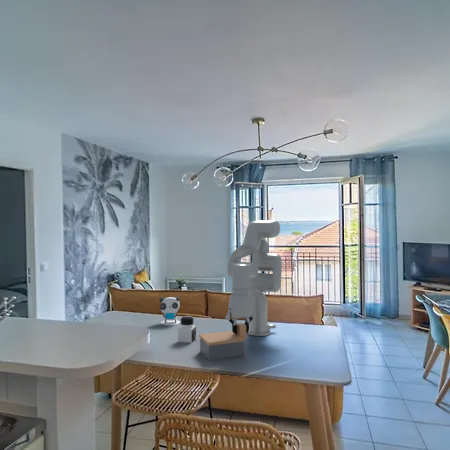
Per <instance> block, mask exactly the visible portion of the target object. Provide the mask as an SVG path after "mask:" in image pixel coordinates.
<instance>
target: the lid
mask: <svg viewBox="0 0 450 450" xmlns="http://www.w3.org/2000/svg"><path fill="white" fill-rule="evenodd" d="M236 325H237V334H234V333H233V332H232V330H227V331H226V330H225V331H218V332H209V333H200V334H199V335H198V337H199V339H200V338H201V339H202V340H203V341H204V342H205V343H206V344H207V345H208V346H211V345H219V344H226V343H234V342H242V341H244V342H245V341H246V339H247V336H248V334H247V333H246V325H245V324H244V323H243V322H241V321H240V322H236Z"/></svg>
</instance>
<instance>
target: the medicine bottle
mask: <svg viewBox="0 0 450 450" xmlns="http://www.w3.org/2000/svg"><path fill="white" fill-rule="evenodd" d="M196 340H197V325H194V317H193V316H190V315H186V316H182V317H181V318H180V326H179V327H178V328H177V343H190V344H192V343H193V342H194V341H196Z"/></svg>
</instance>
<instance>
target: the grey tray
mask: <svg viewBox="0 0 450 450" xmlns="http://www.w3.org/2000/svg"><path fill="white" fill-rule="evenodd" d="M199 352H200V354H202V355H203V356H204V357H205V358H206V359H207V361H208V362H211V361H217V360H222V359H223V360H224V359H231V358H237V357H238V358H239V357H244V356H245V341H242V342H234V343H226V344H219V345H211V346H208V345H207V344H206V343H205V342H204V341H203V340H202V339H201V338H200V337H199Z"/></svg>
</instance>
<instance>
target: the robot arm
mask: <svg viewBox="0 0 450 450" xmlns="http://www.w3.org/2000/svg"><path fill="white" fill-rule="evenodd" d="M280 231H281V225H280V222H279V221H278V220H252V221H250V222H249V223H248V224H247V227H246V231H245V234H244V239H243V242H242V244H241V245H239V246H238V247H237V248H236V249H234V250H233V251H232V252H231V254H230V257H229V260H228V263H227V269H226V271H227V275H228V276H229V278H231V284H232V285H231V288H232V289H231V290H232V291H231V294H230V296H229V301H228V308H227V309H228V310H227V311H228V312H227V314H226V315H225V316H224V319H226V320H227V321H228V322H229V323H230V324H231V329H232V330H231V331H232V332H233V333H234V334H237V325H236V323H238V322H237V321H238V319H243V318H244V323H243V324H245V325H246V335H250V336H253V337H265V336H269V335H270V334H271V329H276V328H277V326H276V324H271V323H270V324H269V323H268V299H267V296H266V294H265V292H267V293H268V292H269V293H277V292H279V291H280V290H281V285H282V271H283V269H282V268H283V262H282V257H281V255H280V254H277V253H270V251H269V250H270V245H269V242H268V241H267V240H266V239H271V238H272V239H273V238H276V237H278V236H279V234H280ZM250 255H252V260H251V261H252V262H251V261H247V262H245V261H240V260H241V259H243V258H246V257H248V256H250ZM265 272H271V273H265Z"/></svg>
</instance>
